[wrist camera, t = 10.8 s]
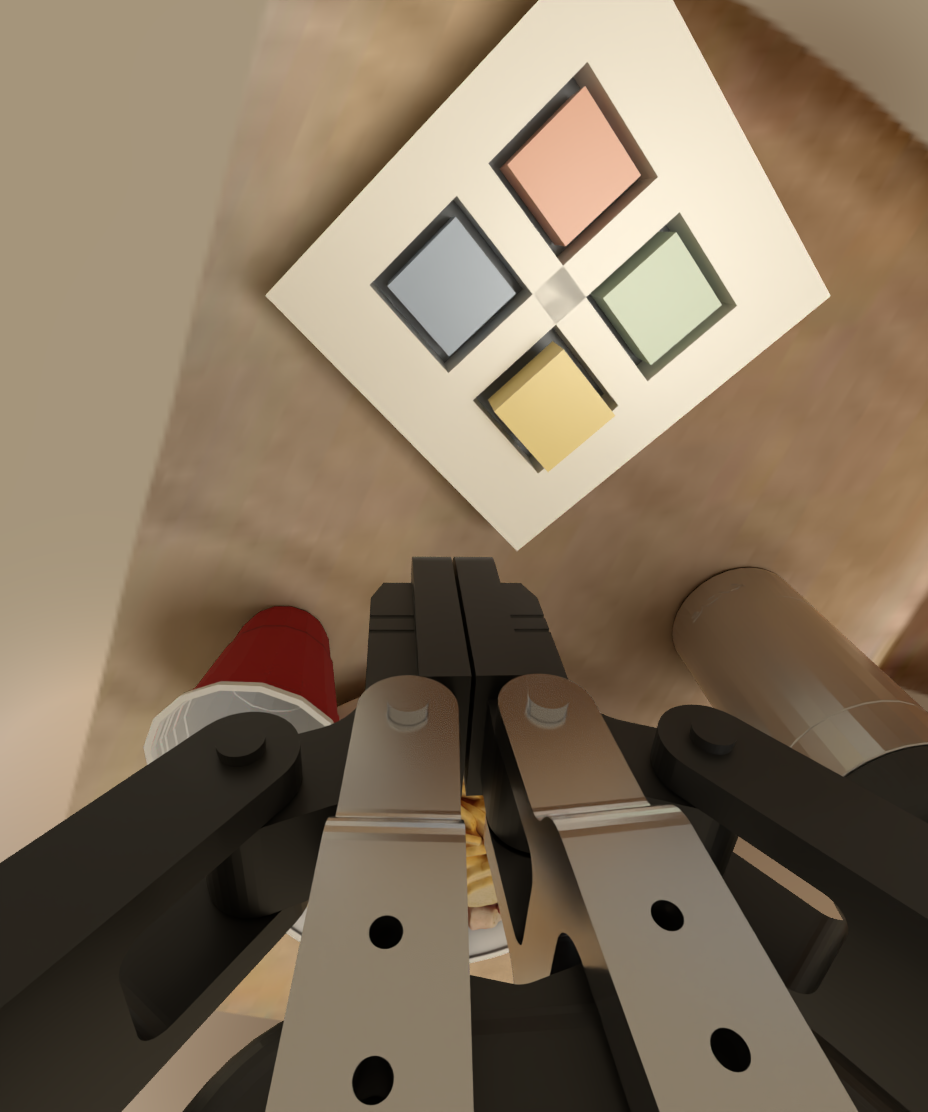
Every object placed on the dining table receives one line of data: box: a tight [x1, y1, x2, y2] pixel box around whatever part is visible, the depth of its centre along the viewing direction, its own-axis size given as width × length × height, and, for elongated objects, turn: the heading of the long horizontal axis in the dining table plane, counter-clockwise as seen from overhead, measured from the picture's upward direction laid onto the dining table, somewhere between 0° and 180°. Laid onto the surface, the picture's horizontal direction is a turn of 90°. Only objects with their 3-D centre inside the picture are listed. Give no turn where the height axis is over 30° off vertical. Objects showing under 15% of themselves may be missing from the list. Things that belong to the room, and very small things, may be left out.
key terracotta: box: [500, 86, 641, 246], centre depth 30 cm, size 4×4×2 cm
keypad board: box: [265, 0, 830, 551], centre depth 33 cm, size 19×21×4 cm
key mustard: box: [488, 341, 615, 472], centre depth 33 cm, size 4×4×2 cm
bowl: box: [286, 697, 509, 963], centre depth 50 cm, size 30×30×8 cm
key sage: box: [590, 231, 722, 365], centre depth 33 cm, size 4×4×2 cm
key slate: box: [387, 217, 516, 356], centre depth 32 cm, size 4×4×2 cm
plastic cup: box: [144, 606, 339, 765], centre depth 39 cm, size 11×11×12 cm
